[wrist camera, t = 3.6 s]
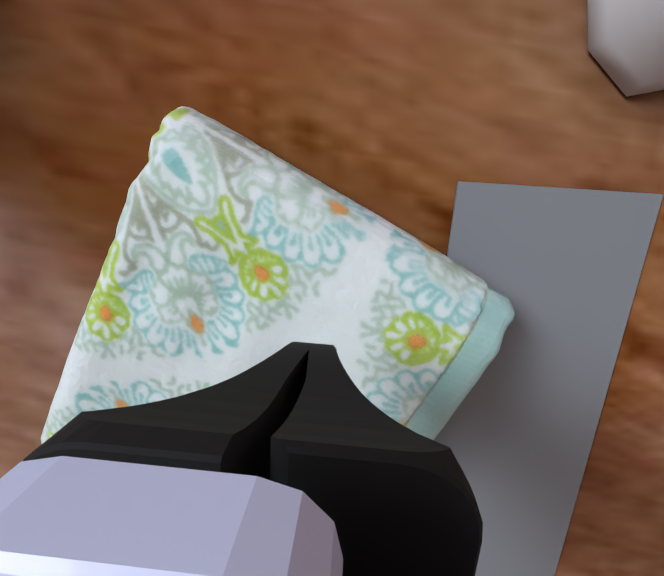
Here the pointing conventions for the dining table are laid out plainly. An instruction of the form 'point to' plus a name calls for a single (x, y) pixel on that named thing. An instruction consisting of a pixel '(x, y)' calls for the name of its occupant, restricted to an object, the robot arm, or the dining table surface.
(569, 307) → the slate mat
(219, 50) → the dining table surface
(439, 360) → the towel
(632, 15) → the flask
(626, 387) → the dining table surface
